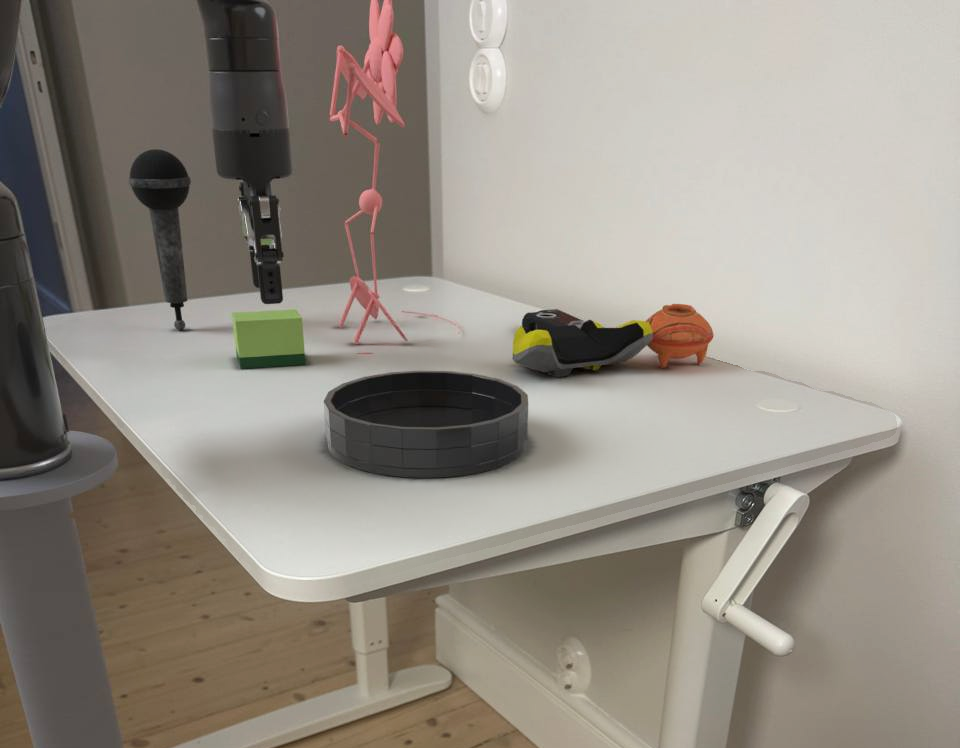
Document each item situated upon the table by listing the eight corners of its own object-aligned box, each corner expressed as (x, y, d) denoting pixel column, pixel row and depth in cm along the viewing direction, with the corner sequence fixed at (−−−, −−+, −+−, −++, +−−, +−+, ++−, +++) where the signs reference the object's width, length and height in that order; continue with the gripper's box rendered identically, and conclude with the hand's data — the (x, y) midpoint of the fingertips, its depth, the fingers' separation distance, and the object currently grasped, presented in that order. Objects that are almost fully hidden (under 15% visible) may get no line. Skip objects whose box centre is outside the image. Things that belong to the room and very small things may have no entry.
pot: (705, 351, 113) (716, 294, 109) (708, 385, 108) (719, 327, 103) (635, 346, 114) (643, 289, 109) (635, 379, 108) (642, 321, 104)
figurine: (362, 362, 109) (342, -18, 91) (320, 314, 130) (298, -2, 112) (493, 353, 113) (499, -13, 95) (432, 307, 134) (428, 1, 117)
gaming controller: (656, 374, 106) (608, 353, 113) (662, 322, 103) (612, 303, 111) (532, 390, 100) (490, 366, 108) (534, 334, 97) (491, 314, 105)
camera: (548, 325, 114) (514, 308, 123) (549, 349, 116) (515, 331, 125) (598, 317, 116) (560, 301, 125) (598, 341, 117) (561, 323, 126)
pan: (347, 487, 76) (344, 437, 74) (314, 421, 91) (310, 377, 89) (555, 466, 81) (557, 419, 79) (492, 406, 95) (493, 365, 93)
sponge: (240, 369, 106) (235, 321, 104) (237, 358, 110) (231, 312, 107) (305, 364, 108) (302, 317, 105) (300, 354, 112) (296, 309, 109)
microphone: (139, 332, 120) (110, 149, 110) (177, 321, 125) (152, 146, 115) (184, 339, 117) (158, 152, 107) (220, 327, 123) (199, 148, 113)
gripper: (207, 120, 102) (227, 284, 110) (215, 129, 90) (237, 311, 99) (280, 119, 104) (294, 280, 112) (297, 127, 92) (312, 306, 100)
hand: (268, 294), depth 105 cm, fingers open, 8 cm apart
